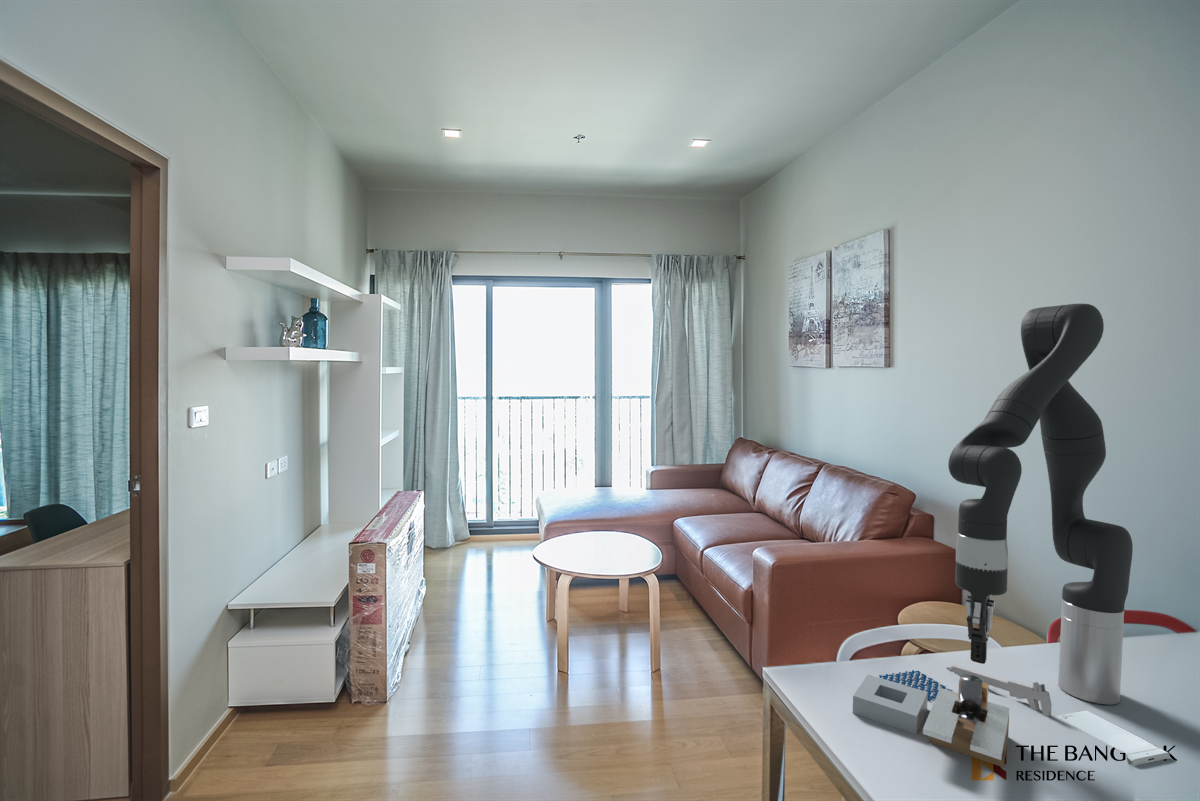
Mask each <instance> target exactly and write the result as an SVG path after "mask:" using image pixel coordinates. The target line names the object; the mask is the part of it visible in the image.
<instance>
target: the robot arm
mask: <svg viewBox="0 0 1200 801" xmlns="http://www.w3.org/2000/svg"><path fill="white" fill-rule="evenodd" d="M1104 328H1105V323H1104V319H1103V316H1102V313H1101V312H1100V310H1099V309H1098V308H1097V307H1096V306H1094V304H1089V303H1068V304H1061V305H1053V306H1044V307H1043V306H1042V307H1036V308H1032V309H1029V310H1028V311H1027V312H1026V313H1025V314H1024V316H1023V317H1022V319H1021V324H1020V337H1021V338H1020V339H1021V344H1022V349H1023V352H1024V357H1025V359H1026V364H1027V367H1028V371H1027V372H1025V373H1024V374H1023V375H1021V376H1020V377H1017V379H1015V380H1014V381H1013V382H1011V383H1010V384H1008V386H1006V388H1005V389H1003V390H1002V391H1001V393H1000V394H998V396H997V398H996V399H995V400H994V403H993V404H992V406H991V408H990V409H989V411H988V413H987V414H986V416H985V418H984V419H983V421H982V422H980V423H979V424H978V425H976V426H975V427H973V429H972V430H971V431H970V432H969V433H968V434H967V435H965V436H964V437H963V438H962V439H961V440H959V442H958V443H957V444H956V445H955V446H954V447H953V449H952V451H951V452H950V455H949V458H948V471H949V474H950V475H951V477H952V478H953V479H954V480H955V481H957V482H958V483H962V484H966V485H971V486H976V487H977V486H978V487H981V488H985V490H984V493H983V495H982V496H981V498H969V499H964V500H962V501H961V502H960V504H959V507H958V518H957V519H958V520H957V521H958V525H957V539H956V546H955V569H954V570H955V571H954V572H955V575H954V583H955V585H956V586H957V587H958V588H959V589H961V590H964V591H967V592H969V593H970V595H969V594H968V595H967V598H966V599H965V603H964V604H965V610H966V626H967V632H968V633H967V637H968V640H970V660H971V662H974V663H978V664H982V665H984V664H986V662H987V658H988V657H987V653H988V641H989V638H990V634H989V633H990V631H991V628H992V625H993V614H994V613H993V612H994V611H995V605H996V604H995V599H991V598H990V597H991V596H993V597H994V596H1002V595H1005V594H1006V593H1007V592H1008V591H1007V590H1008V570H1009V566H1008V565H1009V549H1008V541H1007V540H1008V539H1007V538H1008V537H1007V536H1008V534H1007V533H1008V531H1007V530H1008V515H1009V511H1010V509H1011V505H1012V501H1013V500H1014V497H1015V493H1016V491H1017V488H1018V486H1019V483H1020V482H1021V477H1022V473H1023V472H1022V471H1023V470H1022V469H1023V467H1022V463H1021V460H1020V458H1019V456H1018V455H1017V453H1016V452H1015V451H1014V450H1012V449H1011V448H1017V447H1020V446H1023V445H1024V444H1025V443H1026V441H1027V440H1028V439H1029V437H1030V435H1031V434H1032V432H1033V430H1034V428H1035V427H1036V425H1037V423H1038V422H1039V427H1040V434H1041V435H1040V436H1041V440H1042V448H1043V452H1044V458H1045V464H1046V468H1047V476H1048V482H1049V490H1050V503H1051V506H1050V507H1051V526H1052V527H1051V530H1052V532H1051V533H1052V540H1053V546H1054V550H1055V552H1056V554H1057V556H1058V557H1059V558H1060V559H1061V560H1062V561H1064V562H1066V563H1068V564H1071V565H1075V566H1080V567H1083V568H1087V569H1090V570H1093V575H1092V579H1091V580H1089V581H1074V582H1073V581H1072V582H1068V583H1065V584H1063V586H1062V590H1061V597H1062V598H1061V612H1060V613H1061V615H1060V616H1061V619H1060V640H1059V656H1058V657H1059V659H1058V660H1059V663H1058V684H1057V685H1058V686H1059V689H1061V690H1062V691H1063V692H1065V693H1067V694H1069V695H1070V696H1073V697H1075V698H1078V699H1081V700H1083V701H1086V702H1089V703H1090V702H1091V703H1094V704H1099V705H1100V704H1101V705H1116V704H1119V703H1120V702H1121V687H1122V686H1121V683H1122V682H1121V681H1122V665H1123V663H1122V662H1123V641H1124V620H1125V603H1126V600H1127V596H1128V593H1129V586H1130V576H1131V568H1132V562H1133V560H1132V559H1133V548H1134V547H1133V540H1132V537H1131V534H1130V532H1129V531H1128V529H1126V528H1125V527H1123V526H1121V525H1117V524H1114V523H1109V522H1104V521H1100V520H1093V519H1088V518H1086V516H1085V513H1084V503H1083V502H1084V494H1085V491H1086V490H1087V488H1088V487H1089V484H1091V482H1092V481H1093V479H1094V478H1095V477H1096V475H1097V474H1098V473H1099V471H1100V469H1101V468H1102V466H1103V464H1104V463H1105V459H1106V456H1107V455H1106V454H1107V449H1106V441H1105V434H1104V428H1103V423H1102V420H1101V418H1100V416H1099V415H1098V413H1097V412H1096V411H1095V409H1094V408H1093V407H1092V406H1091V405H1090V404H1089V403H1088V402H1087V400H1085V398H1084V397H1083V396H1082V395H1081V394H1080V393H1079V391H1077V389H1076V388H1075V387H1074V386H1073V385H1072V384H1071V383H1070V381H1069V380H1070V379H1071V378H1072V377H1073V376H1074V374H1076V372H1077V371H1079V369H1080V368H1081V366H1083V364H1084V363H1085V362H1086V361H1087V360H1088V358H1089V357H1090V356H1091V355H1092V354H1093V353H1094V352H1095V350H1096V348H1097V347H1098V345H1099V344H1100V342H1101V339H1102V338H1103V334H1104V331H1105V330H1104Z"/></svg>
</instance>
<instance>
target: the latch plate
mask: <svg viewBox="0 0 1200 801" xmlns="http://www.w3.org/2000/svg"><path fill="white" fill-rule="evenodd" d="M960 679H961V676H959V680H958V692H956V691H954V690H953V691H949V690H950V689H949V690H946V689H942V688H940V689H939V691H938V694H937V696H936V699H934V701H933V704H932V707H931V708H930V710H929V713H928V716H927V718H926V720H925V723H924V724H923V725H924V726H923V728H922V735H925V736H928V737H929V736H931V737H934V738H937V739H940V740H943V741H946V742H949V743H952V740H953V737H954V734H955V730H956V727H957V724H958V721H959V714H955V713H953V710H954V707H955V705H956V706H959V707H960V705H959V704H960ZM988 699H989V685H988V684H987V683H983V682H982V702H981V712H979V713H982V714H986V715H987V717H986V721H985V723H984V722H981V721H978V720H977V721H976V725H975V729H974V733H973V736H972V740H971V744H970V750H972V751H975V752H978V753H981V754H984V755H987V756H990V757H993V758H996V759H999V760H1001V759H1002V753H1003V747H1004V741H1005V735H1006V729H1007V723H1008V717H1009V718H1010V707H1008V706H1005V705H1001V704H997V703H994V702H990V701H988Z"/></svg>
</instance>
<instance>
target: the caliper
mask: <svg viewBox="0 0 1200 801" xmlns="http://www.w3.org/2000/svg"><path fill="white" fill-rule="evenodd" d="M945 669H946V670H949V671H951V672H952V673H953V672H954V674H955V673H956V675H957V674H958V675H957V676H959V677H961V675H963V674H969V675H973V676H976V677H978V678H980V679H981V680H982V682H983V683H987V684H988V686H990V687H995V688H998V689H1001V690H1004V691H1007V692H1009V693H1008V694H1009V696H1010V697H1012V698H1016V699H1018V700H1020V699H1025V700H1027V703H1028V704H1029V707H1030V709H1032V710H1034V711H1036V712H1037V711H1040V710H1041V712H1042V715H1044V716H1045V717H1047V718H1048V717H1052V705H1053V704H1052V700H1051V695H1050V692H1049V691H1047V690H1046V687H1045V683H1042V684H1040V683H1039V682H1038V681H1036V682H1035V681H1034V682H1032V685H1029V684H1026V683H1022V682H1020V681H1019V682H1018V681H1016V680H1013V679H1011V680H1005V679H1001V678H998V677H994V676H991V675H988V674H985V673H982V672H978V671H976V670H972V669H969V668H965V667H962V666H958V665H956V664H954V665H951V666H947V667H945ZM1039 702H1040V704H1039ZM1040 708H1041V709H1040Z"/></svg>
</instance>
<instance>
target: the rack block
mask: <svg viewBox="0 0 1200 801" xmlns="http://www.w3.org/2000/svg"><path fill="white" fill-rule="evenodd" d="M928 701H929V700H928V692H926V691H922V690H919V689H916V688H912V687H909V686H908V685H907V686H905V685H902V684H899V683H895V682H892V681H889V680H885V679H882V678H880V677H878V676H876V675H872V674H867V675H865V678H864V679H863V681H862V682H861V684H860V686H858V688H857V689H856V691H855V692H854V694H853V695H852V714H854V715H858V716H859V717H863V718H866V719H870V720H872V721H876V722H879V723H882V724H885V725H887V726H891V727H894V728H896V729H899V730H902V731H905V732H908V733H910V734H914V735H917V734H918V731H919V729H920V727H921V724H922V722H923V720H924V718H925V715H926V712H927V711H928Z"/></svg>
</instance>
